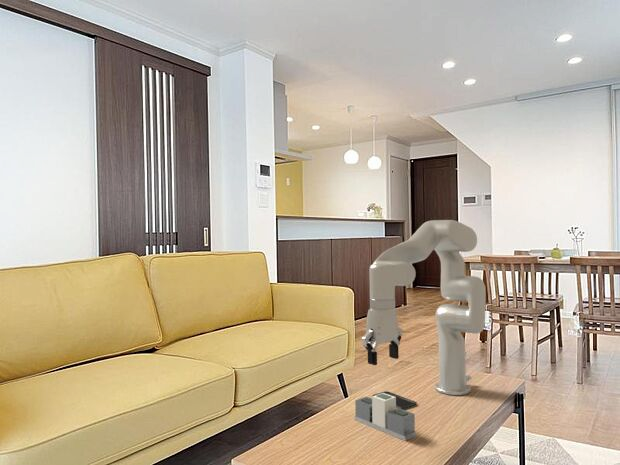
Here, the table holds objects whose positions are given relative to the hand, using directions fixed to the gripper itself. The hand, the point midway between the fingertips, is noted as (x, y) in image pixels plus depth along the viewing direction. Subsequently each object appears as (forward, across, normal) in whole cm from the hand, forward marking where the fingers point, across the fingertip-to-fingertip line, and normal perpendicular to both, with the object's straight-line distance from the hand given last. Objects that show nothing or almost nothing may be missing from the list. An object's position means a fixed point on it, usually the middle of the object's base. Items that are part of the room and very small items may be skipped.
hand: (383, 361), depth 140 cm
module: (+19, 0, 0) cm, 19 cm away
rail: (+20, 0, 0) cm, 20 cm away
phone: (+21, -19, -12) cm, 30 cm away
